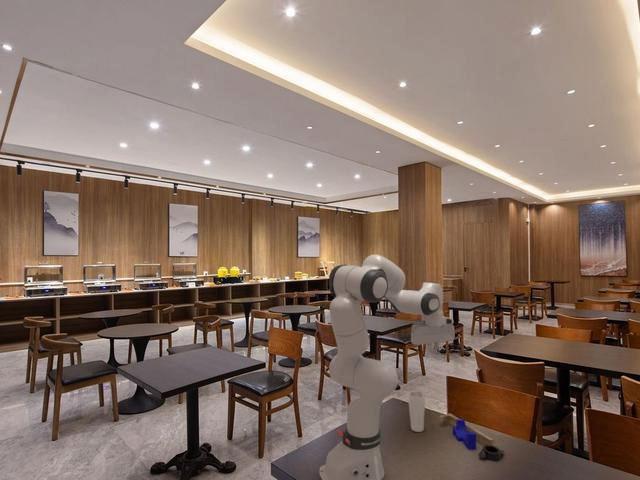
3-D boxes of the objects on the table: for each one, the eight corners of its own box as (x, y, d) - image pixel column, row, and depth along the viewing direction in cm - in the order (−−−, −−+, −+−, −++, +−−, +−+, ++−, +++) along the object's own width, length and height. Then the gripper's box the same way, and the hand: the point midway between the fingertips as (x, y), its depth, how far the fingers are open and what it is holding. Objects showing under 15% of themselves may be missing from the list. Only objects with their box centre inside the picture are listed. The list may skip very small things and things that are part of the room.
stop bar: (481, 453, 133) (481, 442, 133) (439, 425, 155) (439, 415, 155) (493, 450, 135) (493, 439, 136) (450, 422, 157) (450, 413, 157)
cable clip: (452, 434, 148) (452, 419, 148) (463, 434, 148) (463, 419, 148) (464, 450, 136) (464, 434, 136) (476, 450, 136) (475, 434, 136)
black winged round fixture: (509, 465, 126) (509, 457, 126) (479, 461, 128) (479, 453, 129) (503, 453, 134) (503, 445, 134) (475, 450, 136) (475, 442, 136)
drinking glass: (407, 430, 150) (406, 395, 151) (411, 424, 156) (411, 389, 157) (423, 435, 147) (422, 398, 147) (427, 428, 153) (426, 392, 153)
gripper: (416, 323, 143) (417, 358, 143) (456, 319, 151) (457, 352, 150) (407, 320, 149) (408, 354, 149) (446, 317, 157) (447, 348, 156)
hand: (433, 353), depth 150 cm, fingers closed
